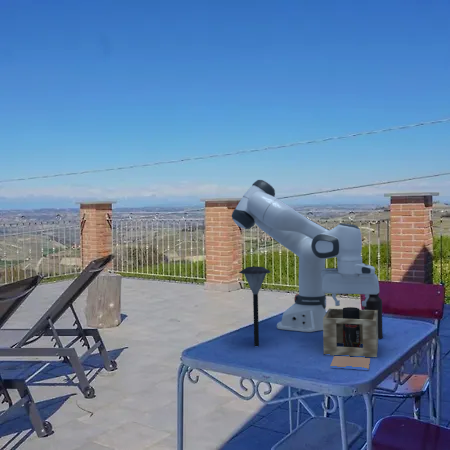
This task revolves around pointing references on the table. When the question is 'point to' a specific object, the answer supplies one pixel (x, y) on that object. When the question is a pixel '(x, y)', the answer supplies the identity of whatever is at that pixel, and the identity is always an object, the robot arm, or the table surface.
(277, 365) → the table surface
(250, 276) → the solar garden light
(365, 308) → the bottle
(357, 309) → the deodorant
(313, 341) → the table surface
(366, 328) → the crate
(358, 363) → the tile
